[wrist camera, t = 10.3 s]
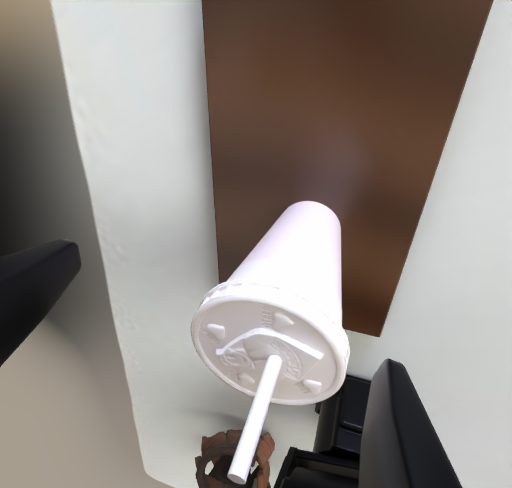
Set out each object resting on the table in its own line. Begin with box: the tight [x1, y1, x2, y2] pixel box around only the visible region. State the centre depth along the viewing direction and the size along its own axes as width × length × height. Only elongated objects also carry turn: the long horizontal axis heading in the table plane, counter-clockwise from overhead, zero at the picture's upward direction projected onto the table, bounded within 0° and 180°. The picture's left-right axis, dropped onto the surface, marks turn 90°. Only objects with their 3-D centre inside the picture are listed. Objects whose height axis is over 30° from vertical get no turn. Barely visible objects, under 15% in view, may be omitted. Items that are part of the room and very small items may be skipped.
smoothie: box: [191, 201, 350, 484], centre depth 16 cm, size 6×6×14 cm
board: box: [202, 0, 493, 337], centre depth 21 cm, size 20×12×2 cm, turn 179°
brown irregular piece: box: [195, 429, 275, 488], centre depth 40 cm, size 12×10×8 cm
